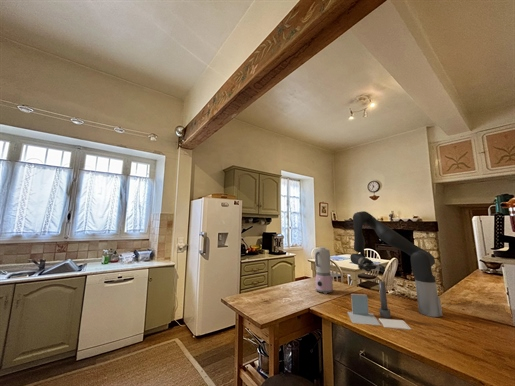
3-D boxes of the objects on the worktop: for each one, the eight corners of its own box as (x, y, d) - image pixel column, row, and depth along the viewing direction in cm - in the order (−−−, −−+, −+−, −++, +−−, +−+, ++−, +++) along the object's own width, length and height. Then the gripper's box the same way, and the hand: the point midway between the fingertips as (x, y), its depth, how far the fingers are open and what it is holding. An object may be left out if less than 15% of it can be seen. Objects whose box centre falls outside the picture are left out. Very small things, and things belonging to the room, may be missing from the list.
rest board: (402, 322, 104) (402, 320, 104) (411, 331, 96) (411, 328, 96) (378, 320, 107) (378, 318, 107) (384, 328, 98) (384, 326, 98)
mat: (372, 314, 114) (372, 313, 114) (381, 326, 100) (381, 325, 100) (347, 312, 117) (347, 311, 117) (352, 324, 103) (352, 322, 103)
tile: (368, 314, 113) (366, 294, 115) (368, 315, 112) (367, 295, 113) (352, 312, 115) (350, 293, 117) (352, 313, 114) (351, 294, 115)
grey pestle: (388, 315, 112) (385, 280, 115) (392, 320, 107) (388, 283, 110) (378, 315, 113) (375, 280, 116) (381, 319, 108) (378, 282, 111)
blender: (321, 288, 163) (319, 246, 168) (336, 291, 154) (333, 247, 159) (310, 292, 152) (308, 247, 157) (325, 296, 143) (322, 249, 148)
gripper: (354, 257, 141) (362, 263, 125) (377, 258, 139) (388, 264, 123) (354, 268, 140) (362, 276, 124) (377, 270, 138) (388, 277, 122)
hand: (375, 270), depth 123 cm, fingers open, 8 cm apart
